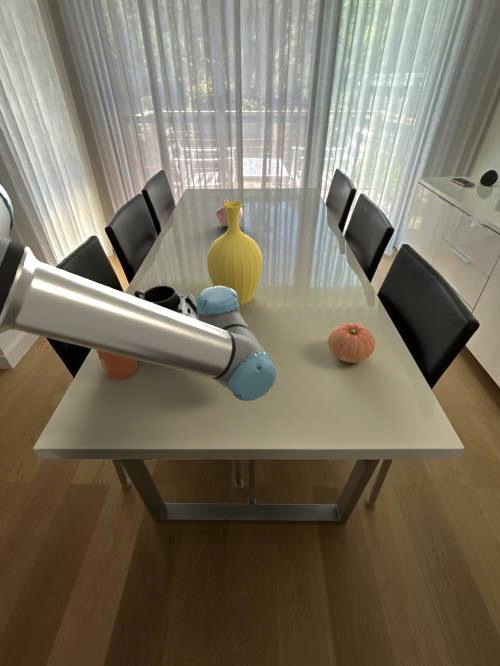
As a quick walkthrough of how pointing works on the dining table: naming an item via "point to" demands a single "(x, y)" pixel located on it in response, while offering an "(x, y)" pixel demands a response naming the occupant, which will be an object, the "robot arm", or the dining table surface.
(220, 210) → the mortar and pestle
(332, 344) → the orange pumpkin
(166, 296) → the mug
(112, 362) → the terracotta cup
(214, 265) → the vase
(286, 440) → the dining table surface
